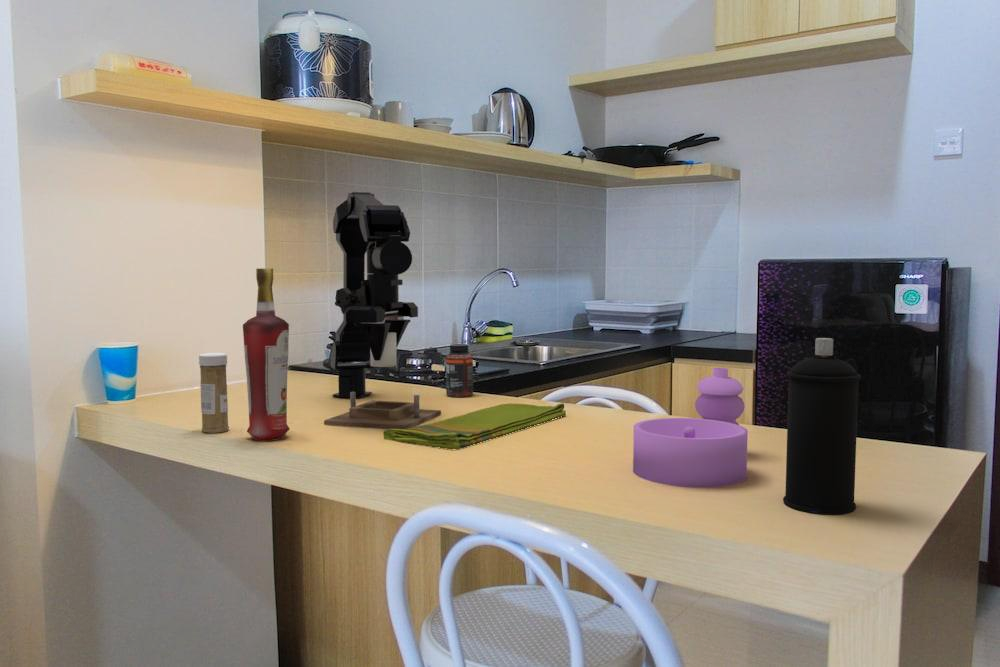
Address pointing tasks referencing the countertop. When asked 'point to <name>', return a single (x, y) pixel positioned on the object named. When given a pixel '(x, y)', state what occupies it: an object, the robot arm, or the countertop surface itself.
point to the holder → (383, 414)
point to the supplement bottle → (459, 371)
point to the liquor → (266, 365)
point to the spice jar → (213, 392)
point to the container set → (696, 440)
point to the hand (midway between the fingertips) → (383, 358)
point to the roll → (386, 353)
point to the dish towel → (476, 425)
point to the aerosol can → (821, 433)
